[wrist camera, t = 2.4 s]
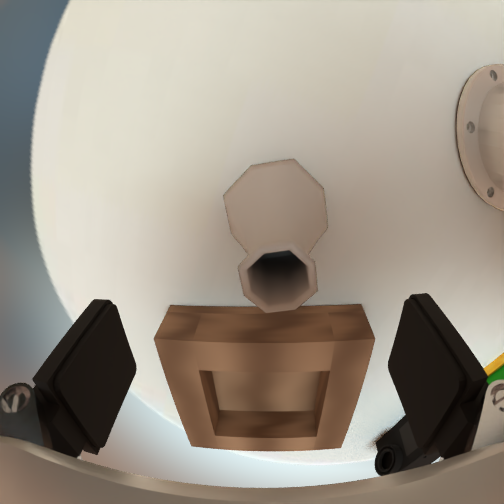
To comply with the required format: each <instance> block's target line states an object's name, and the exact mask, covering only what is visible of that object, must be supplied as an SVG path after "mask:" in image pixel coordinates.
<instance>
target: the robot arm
mask: <svg viewBox="0 0 504 504" xmlns="http://www.w3.org/2000/svg"><path fill="white" fill-rule="evenodd" d="M457 140H458V148H459V153H460V158H461V162H462V164H463V167H464V171H465V174H466V176H467V178H468V180H469V182H470V184H471V186H472V187H473V188H474V190H475V191H476V193H477V194H478V195H479V196H480V197H481V198H482V199H483V200H484V201H485V202H486V203H488V204H490V205H491V206H493V207H495V208H497V209H499V210H502V211H504V64H494V65H488V66H485V67H483V68H481V69H479V70H477V71H476V72H475V73H474V74H473V75H472V76H471V77H470V78H469V80H468V82H467V83H466V85H465V87H464V89H463V92H462V95H461V97H460V101H459V106H458V112H457ZM388 370H389V373H390V375H391V378H392V380H393V383H394V385H395V388H396V390H397V393H398V395H399V398H400V400H401V403H402V406H403V408H404V411H405V414H406V417H407V419H408V422H409V425H410V428H411V430H412V433H413V436H414V439H415V442H416V445H417V446H418V448H422V450H423V453H424V455H428V454H431V453H435V452H438V451H439V454H440V456H441V458H440V460H439V462H436V463H433V464H429V465H425V466H422V467H418V468H414V469H410V470H406V471H402V472H398V473H393V474H389V475H384V476H380V477H374V478H369V479H363V480H357V481H351V482H344V483H336V484H328V485H318V486H305V487H288V488H238V487H221V486H208V485H198V484H189V483H182V482H175V481H168V480H162V479H156V478H151V477H146V476H140V475H136V474H131V473H127V472H123V471H119V470H115V469H111V468H108V467H104V466H100V465H96V464H94V463H90V462H87V461H83V460H82V458H81V455H80V454H81V452H82V450H84V451H86V452H89V453H92V454H96V455H98V452H99V450H100V448H103V447H104V446H105V444H106V442H107V439H108V437H109V434H110V432H111V429H112V427H113V424H114V422H115V420H116V417H117V415H118V413H119V410H120V408H121V406H122V403H123V401H124V399H125V396H126V394H127V392H128V390H129V387H130V385H131V383H132V380H133V378H134V376H135V374H136V363H135V360H134V357H133V354H132V352H131V349H130V346H129V343H128V340H127V337H126V334H125V331H124V328H123V325H122V322H121V319H120V315H119V312H118V309H117V306H116V305H114V304H113V303H112V302H111V301H110V300H102V299H94V300H93V301H92V302H91V303H90V304H89V306H88V307H87V308H86V309H85V310H84V312H83V313H82V314H81V315H80V317H79V318H78V319H77V320H76V322H75V323H74V324H73V325H72V327H71V328H70V329H69V330H68V332H67V333H66V334H65V336H64V337H63V338H62V339H61V341H60V342H59V344H58V345H57V346H56V347H55V349H54V350H53V351H52V353H51V354H50V355H49V357H48V358H47V359H46V361H45V362H44V363H43V365H42V366H41V368H40V369H39V370H38V372H37V373H36V375H35V376H34V377H33V381H34V383H35V384H36V385H35V387H34V388H32V387H31V386H30V385H29V384H27V383H15V384H12V385H10V386H8V387H7V388H6V389H5V390H4V391H3V392H2V393H1V395H0V504H504V380H496V381H494V382H492V383H491V384H490V385H489V384H488V382H487V381H486V380H487V379H488V375H487V373H486V372H485V370H484V369H483V367H482V366H481V364H480V363H479V361H478V360H477V358H476V357H475V356H474V354H473V353H472V351H471V350H470V348H469V347H468V345H467V344H466V343H465V341H464V340H463V338H462V337H461V336H460V334H459V333H458V332H457V330H456V329H455V328H454V326H453V325H452V323H451V322H450V321H449V320H448V318H447V317H446V316H445V314H444V313H443V312H442V310H441V309H440V308H439V307H438V305H437V304H436V303H435V301H434V300H433V299H432V298H431V296H430V295H429V294H427V293H423V294H412V295H411V296H410V297H409V299H407V300H405V302H404V306H403V310H402V314H401V318H400V322H399V326H398V330H397V333H396V337H395V340H394V344H393V347H392V351H391V354H390V357H389V361H388Z"/></svg>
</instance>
